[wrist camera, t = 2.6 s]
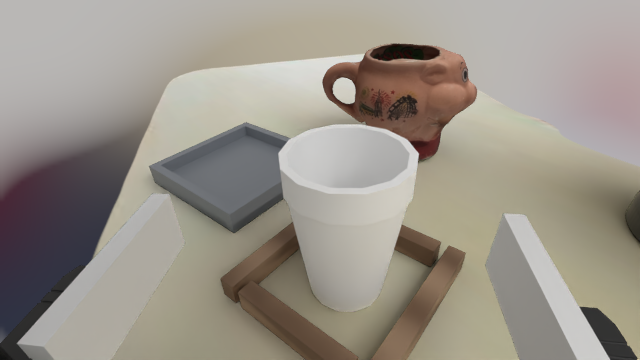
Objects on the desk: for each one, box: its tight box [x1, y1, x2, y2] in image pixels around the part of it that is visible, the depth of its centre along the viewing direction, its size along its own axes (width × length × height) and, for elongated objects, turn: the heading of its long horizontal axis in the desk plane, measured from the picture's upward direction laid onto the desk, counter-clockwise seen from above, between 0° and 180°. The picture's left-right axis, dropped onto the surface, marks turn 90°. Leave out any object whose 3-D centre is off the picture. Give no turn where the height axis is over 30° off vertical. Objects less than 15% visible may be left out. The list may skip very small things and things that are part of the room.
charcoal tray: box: [149, 122, 291, 233], centre depth 45 cm, size 16×16×2 cm
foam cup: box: [278, 124, 419, 312], centre depth 27 cm, size 10×9×13 cm
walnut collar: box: [221, 222, 466, 360], centre depth 30 cm, size 15×15×2 cm
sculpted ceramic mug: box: [323, 44, 477, 160], centre depth 47 cm, size 20×12×14 cm, turn 80°
